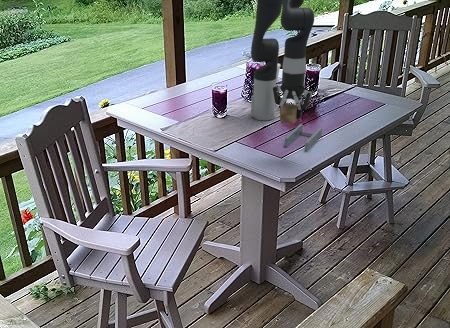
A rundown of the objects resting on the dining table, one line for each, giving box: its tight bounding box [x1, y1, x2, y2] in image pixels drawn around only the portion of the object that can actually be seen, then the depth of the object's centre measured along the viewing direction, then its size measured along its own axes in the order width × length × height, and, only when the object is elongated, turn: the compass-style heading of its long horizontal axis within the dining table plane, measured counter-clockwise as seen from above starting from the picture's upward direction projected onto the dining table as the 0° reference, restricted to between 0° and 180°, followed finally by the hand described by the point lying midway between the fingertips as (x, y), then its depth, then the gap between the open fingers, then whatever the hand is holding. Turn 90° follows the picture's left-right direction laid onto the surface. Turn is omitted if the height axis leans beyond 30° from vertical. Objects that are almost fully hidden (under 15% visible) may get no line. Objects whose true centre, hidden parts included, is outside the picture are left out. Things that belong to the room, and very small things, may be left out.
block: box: [279, 102, 298, 125], centre depth 177 cm, size 5×5×5 cm
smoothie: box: [276, 62, 282, 84], centre depth 259 cm, size 6×6×14 cm
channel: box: [283, 123, 323, 153], centre depth 197 cm, size 9×16×4 cm, turn 152°
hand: (290, 117), depth 179 cm, fingers closed on block, 5 cm apart
